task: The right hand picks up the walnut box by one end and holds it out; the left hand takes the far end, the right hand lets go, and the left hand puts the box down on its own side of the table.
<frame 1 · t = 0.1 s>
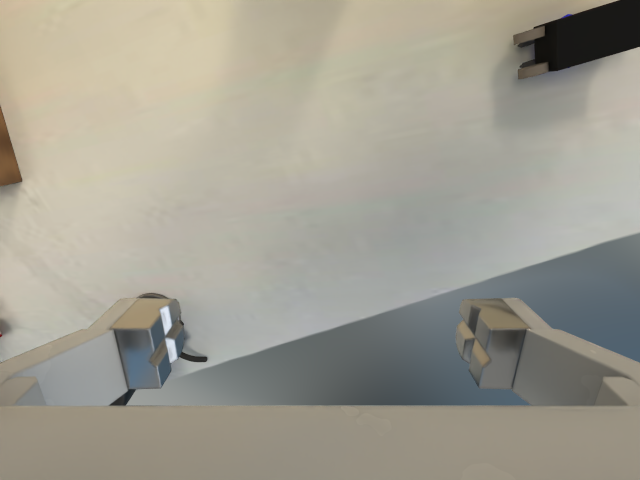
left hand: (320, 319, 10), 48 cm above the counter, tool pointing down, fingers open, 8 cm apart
figurine character: (556, 45, 50), on the counter
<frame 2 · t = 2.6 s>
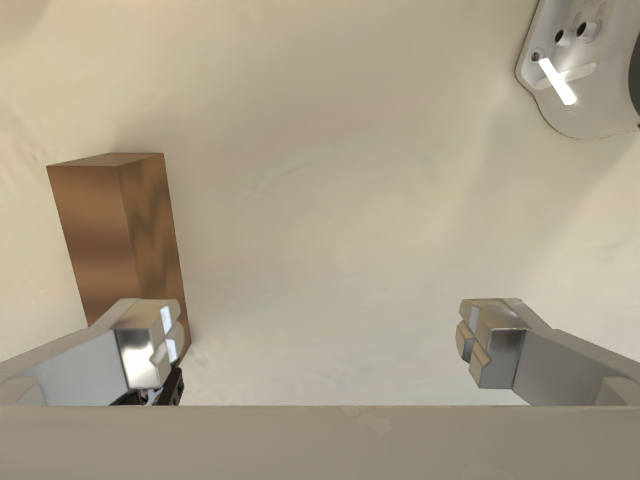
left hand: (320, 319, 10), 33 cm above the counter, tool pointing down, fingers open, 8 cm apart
box: (154, 258, 45), on the counter, touching right hand
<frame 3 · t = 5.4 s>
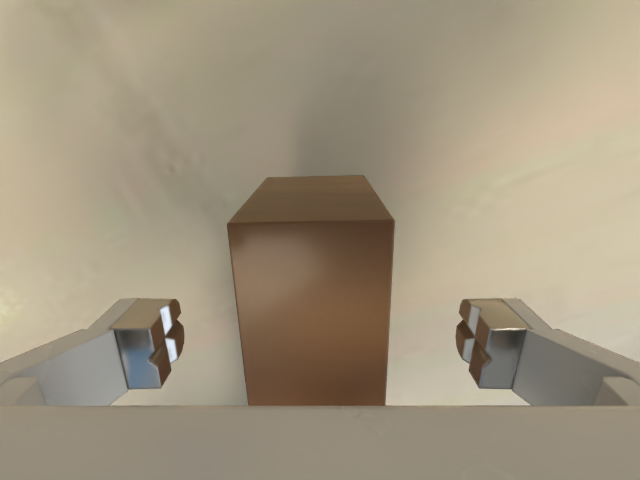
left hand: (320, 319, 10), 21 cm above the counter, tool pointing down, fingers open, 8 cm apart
box: (320, 348, 27), point 7 cm above the counter, touching right hand
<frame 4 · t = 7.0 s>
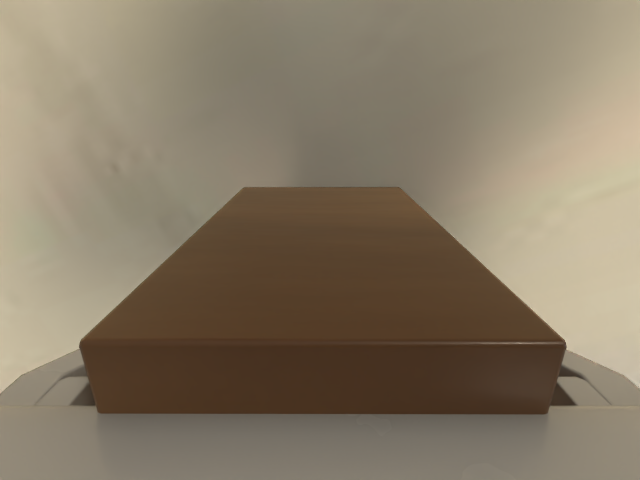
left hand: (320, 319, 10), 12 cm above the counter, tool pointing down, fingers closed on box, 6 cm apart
box: (321, 437, 18), point 7 cm above the counter, touching left hand, right hand
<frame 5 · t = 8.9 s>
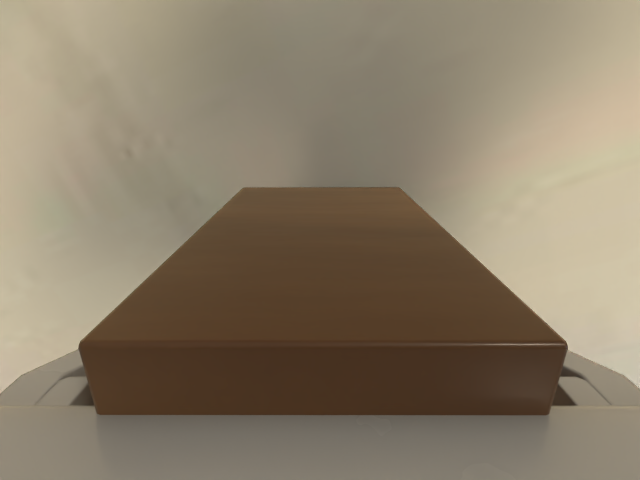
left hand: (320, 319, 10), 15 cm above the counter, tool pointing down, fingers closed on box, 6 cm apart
box: (321, 437, 18), point 10 cm above the counter, touching left hand
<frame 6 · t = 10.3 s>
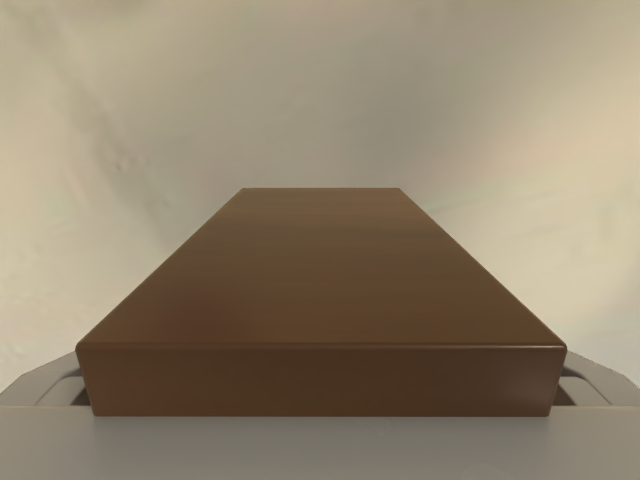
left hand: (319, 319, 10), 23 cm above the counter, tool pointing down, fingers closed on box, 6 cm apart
box: (320, 438, 18), point 18 cm above the counter, touching left hand
when the left hand's fingers open (6 cm above the counter, at t = 13.8 s): box stays where it is, on the counter.
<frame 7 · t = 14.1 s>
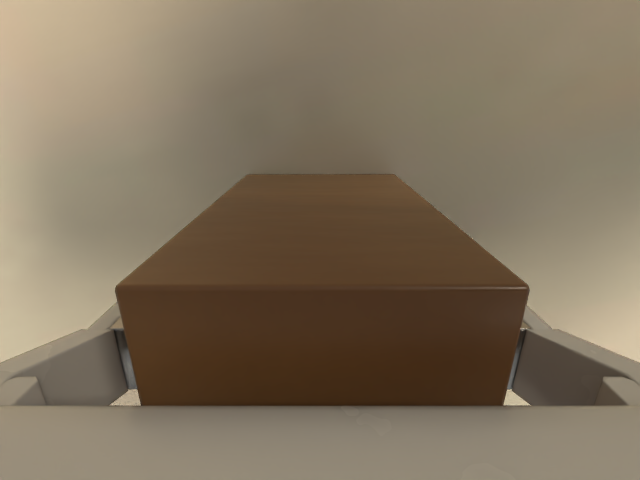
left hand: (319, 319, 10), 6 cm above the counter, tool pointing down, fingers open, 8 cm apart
box: (320, 416, 19), on the counter
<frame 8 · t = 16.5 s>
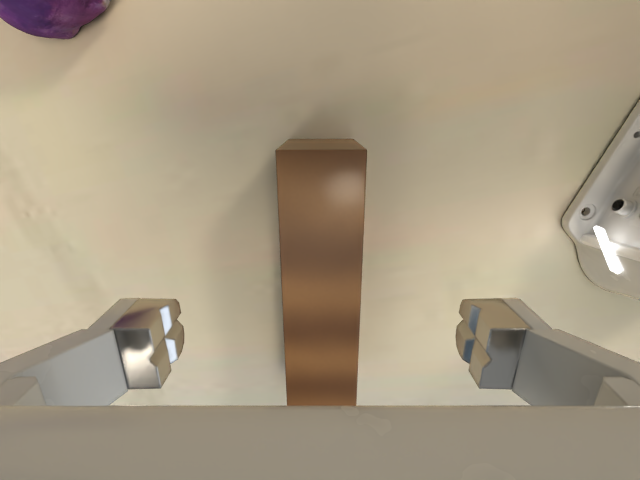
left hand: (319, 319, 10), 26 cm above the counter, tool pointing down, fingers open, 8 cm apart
box: (321, 266, 38), on the counter
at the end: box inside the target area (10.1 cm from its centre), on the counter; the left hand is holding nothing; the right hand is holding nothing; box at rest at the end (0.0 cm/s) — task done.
